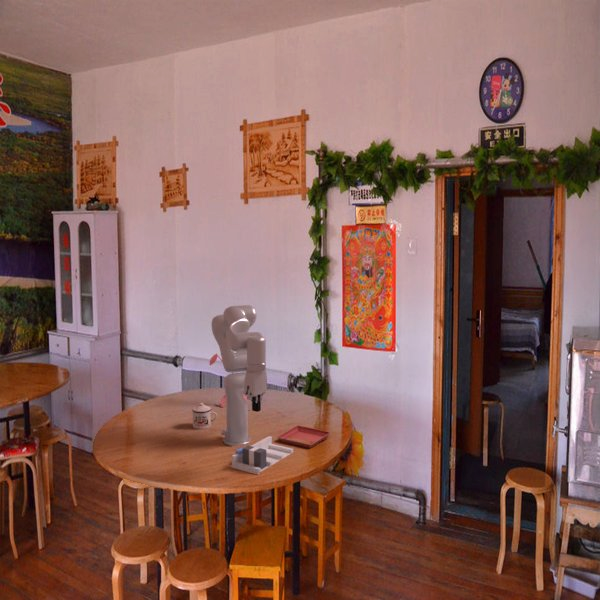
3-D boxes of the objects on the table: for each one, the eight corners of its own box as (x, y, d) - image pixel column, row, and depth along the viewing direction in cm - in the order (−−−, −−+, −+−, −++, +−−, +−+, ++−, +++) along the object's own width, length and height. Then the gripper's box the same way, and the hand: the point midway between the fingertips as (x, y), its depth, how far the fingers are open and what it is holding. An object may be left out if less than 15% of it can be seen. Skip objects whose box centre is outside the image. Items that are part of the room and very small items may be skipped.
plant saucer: (311, 451, 258) (311, 444, 258) (276, 443, 268) (276, 436, 267) (330, 439, 274) (330, 432, 273) (297, 431, 283) (297, 425, 283)
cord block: (242, 465, 241) (242, 448, 241) (248, 461, 245) (248, 445, 244) (260, 470, 237) (260, 452, 236) (266, 466, 240) (266, 449, 239)
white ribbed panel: (231, 467, 240) (231, 452, 240) (268, 446, 263) (268, 433, 262) (258, 474, 234) (257, 459, 233) (293, 452, 256) (293, 439, 255)
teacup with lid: (191, 429, 285) (191, 406, 283) (193, 423, 294) (192, 400, 292) (216, 429, 286) (216, 405, 284) (217, 423, 295) (217, 400, 293)
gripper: (259, 361, 247) (260, 404, 249) (237, 369, 234) (237, 414, 237) (274, 364, 243) (274, 407, 245) (252, 372, 230) (252, 417, 233)
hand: (256, 410), depth 241 cm, fingers closed
